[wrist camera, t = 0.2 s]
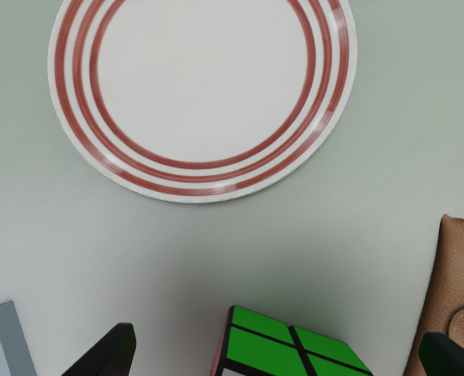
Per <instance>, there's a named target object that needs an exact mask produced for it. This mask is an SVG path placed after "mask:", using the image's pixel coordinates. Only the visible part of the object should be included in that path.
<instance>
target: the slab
mask: <svg viewBox="0 0 464 376" xmlns="http://www.w3.org/2000/svg"><path fill="white" fill-rule="evenodd" d="M0 376H37V375H36V372H35V369H34V366H33V362H32V359H31V356H30V353H29V350H28V347H27V344H26V341H25V338H24V334H23V331H22V328H21V325H20V322H19V319H18V316H17V313H16V310H15V306H14V303H13V301H11V302H8V303H5V304H1V305H0Z"/></svg>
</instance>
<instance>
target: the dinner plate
mask: <svg viewBox="0 0 464 376" xmlns="http://www.w3.org/2000/svg"><path fill="white" fill-rule="evenodd" d="M356 66H357V35H356V28H355V23H354V19H353V15H352V11H351V8H350V5H349V3H348V0H64V1H63V3H62V5H61V8H60V10H59V12H58V14H57V17H56V20H55V23H54V26H53V29H52V33H51V38H50V43H49V50H48V81H49V87H50V93H51V98H52V102H53V106H54V109H55V111H56V114H57V117H58V119H59V121H60V123H61V126H62V128H63V129H64V131H65V133H66V135H67V136H68V138H69V139H70V141H71V142H72V144H73V145H74V147H75V148H76V149H77V150H78V152H79V153H80V154H81V155H82V156H83V157H84V158H85V159H86V160H87V161H88V162H89V163H90V164H91V165H92V166H93V167H94V168H95V169H97V170H98V171H99V172H100V173H102V174H103V175H105V176H106V177H107V178H109V179H111V180H112V181H114V182H115V183H117V184H119V185H121V186H123V187H125V188H127V189H129V190H131V191H134V192H136V193H139V194H141V195H144V196H147V197H150V198H154V199H158V200H163V201H169V202H177V203H212V202H220V201H226V200H231V199H235V198H239V197H243V196H246V195H249V194H251V193H254V192H257V191H259V190H262V189H264V188H266V187H268V186H271V185H273V184H274V183H276V182H278V181H279V180H281V179H283V178H284V177H286V176H287V175H289V174H290V173H291V172H293V171H294V170H296V169H297V168H298V167H299V166H300V165H302V164H303V163H304V162H305V161H306V160H307V159H308V158H310V157H311V156H312V155H313V154H314V153H315V152H316V151H317V149H318V148H319V147H320V146H321V145H322V144H323V143H324V141H325V140H326V139H327V137H328V136H329V135H330V133H331V132H332V130H333V129H334V127H335V125H336V124H337V122H338V120H339V119H340V117H341V115H342V113H343V111H344V109H345V107H346V104H347V102H348V99H349V96H350V93H351V90H352V87H353V82H354V78H355V72H356Z"/></svg>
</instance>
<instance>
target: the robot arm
mask: <svg viewBox="0 0 464 376" xmlns="http://www.w3.org/2000/svg"><path fill="white" fill-rule="evenodd" d="M135 349H136V337H135V332H134V328H133V325H132V324H131V323H118V324H117V325H116V326H114V327H113V328H112V329H111V330H110V331H109V332H108V333H107V334H106V335H105V336H104V337H102V338H101V339H100V340H99V341H98V342H97V343H96V344H95V345H94V346H93V347H92V348H91V349H89V350H88V351H87V352H86V353H85V354H84V355H83V356H82V357H81V358H80V359H79V360H78V361H76V362H75V363H74V364H73V365H72V366H71V367H70V368H69V369H68V370H67V371H66V372H64V373H63V374H62V375H61V376H128V375H129V371H130V368H131V364H132V360H133V357H134V353H135ZM418 355H419V358H420V361H421V363H422V366H423V368H424V371H425V373H426V376H464V348H463V347H461V346H460V345H459V344H457V343H456V342H455V341H453V340H452V339H450V338H449V337H448V336H446V335H445V334H444V333H442V332H439V331H426V332H424V334H423V337H422V339H421V342H420V345H419V348H418Z"/></svg>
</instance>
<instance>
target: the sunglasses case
mask: <svg viewBox="0 0 464 376" xmlns="http://www.w3.org/2000/svg"><path fill="white" fill-rule="evenodd" d="M426 331H439V332H442V333H444V334H445V335H446V336H448V337H449V338H450V339H452V340H453V341H455V342H456V343H457V344H459V345H460V346H461V347H463V348H464V219H461V218H452V217H449V216H448V215H447V214H444V216H443V217H442V219H441V223H440V229H439V240H438V248H437V253H436V259H435V264H434V268H433V272H432V277H431V281H430V285H429V289H428V292H427V296H426V301H425V304H424V308H423V312H422V316H421V319H420V323H419V327H418V330H417V334H416V336H415V340H414V344H413V348H412V351H411V354H410V358H409V362H408V366H407V369H406V372H405V375H404V376H426V373H425V371H424V368H423V366H422V363H421V361H420V358H419V355H418V348H419V345H420V342H421V339H422V337H423V334H424V332H426Z"/></svg>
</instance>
